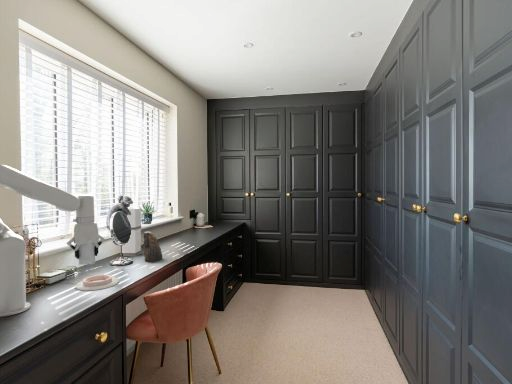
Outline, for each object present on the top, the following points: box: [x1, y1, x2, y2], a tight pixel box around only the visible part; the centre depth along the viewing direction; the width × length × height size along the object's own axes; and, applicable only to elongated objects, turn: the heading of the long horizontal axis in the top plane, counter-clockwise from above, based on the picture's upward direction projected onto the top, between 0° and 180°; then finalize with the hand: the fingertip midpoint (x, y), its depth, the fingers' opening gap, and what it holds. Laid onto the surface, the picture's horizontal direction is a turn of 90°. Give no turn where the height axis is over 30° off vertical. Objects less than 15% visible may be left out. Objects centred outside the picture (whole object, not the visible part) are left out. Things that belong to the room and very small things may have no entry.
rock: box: [142, 230, 164, 263], centre depth 209 cm, size 13×13×20 cm
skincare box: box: [78, 239, 96, 266], centre depth 144 cm, size 6×4×12 cm
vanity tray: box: [74, 274, 120, 292], centre depth 157 cm, size 20×20×3 cm
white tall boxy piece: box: [122, 207, 142, 257], centre depth 227 cm, size 11×11×35 cm
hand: (86, 256), depth 144 cm, fingers closed on skincare box, 7 cm apart
